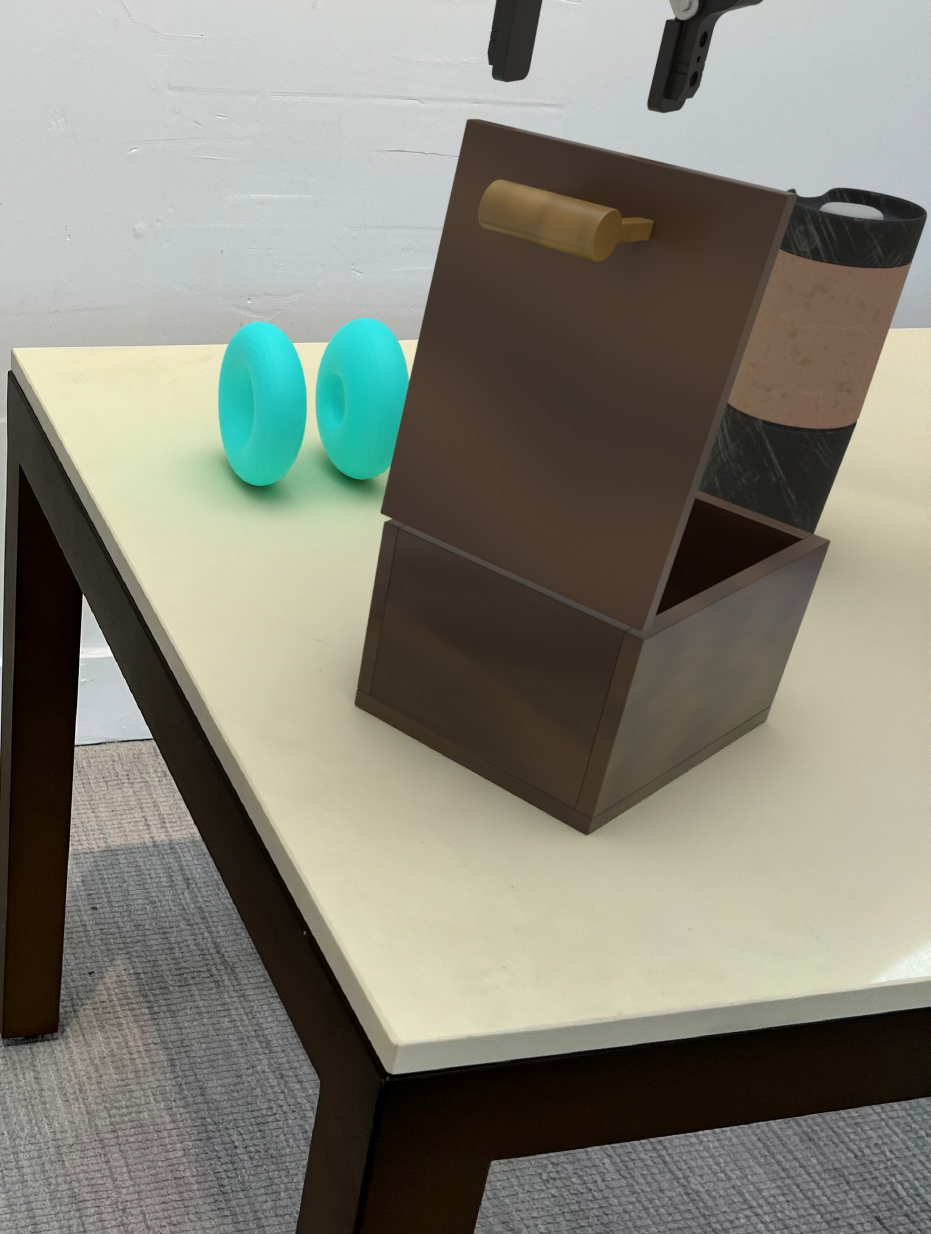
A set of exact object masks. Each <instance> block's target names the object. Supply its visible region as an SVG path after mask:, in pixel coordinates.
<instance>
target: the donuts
mask: <svg viewBox="0 0 931 1234" xmlns="http://www.w3.org/2000/svg"><path fill="white" fill-rule="evenodd" d="M402 348H403V347H402V346H401V344H400V341H399V340H398V338H397V336H396V335H395V333H394V332H393V331H392V330H391V329H390V328H389V326H388V325H386V324H385V323H384V322H382V321H380V320H378V319H375V318H371V317H359V318H355V319H352V320H350V321H349V322H346V323H345V324H343V325H342V326H341V327H340V328H339V329H338V330H337V331H336V332H335V333H334V334H333V336H332V337H331V338H330V340H329V342H328V343H327V345H326V347H325V350H324V351H323V354H322V357H321V359H320V363H319V367H318V371H317V375H316V376H317V377H316V382H315V395H314V396H315V397H314V398H315V399H314V402H315V403H314V404H315V418H316V425H317V431H318V433H319V434H318V435H319V437H320V440H321V443H322V446H323V449H324V451H325V453H326V455H327V457H328V459H329V460H330V462H331V463H332V464H333V466H334V467H335V468H336V469H338V471H340V473H342V474H343V475H345V476H347V477H350V478H352V479H354V480H355V479H356V480H370V479H374V478H376V477H379V476H381V475H382V474H384V473H385V472H386V471H387V470H388V469H390V466H391V462H392V457H393V453H394V448H395V444H396V439H397V434H398V430H399V425H400V421H401V416H402V412H403V407H404V403H405V398H406V394H407V389H408V385H409V380H410V376H409V370H408V366H407V365H408V364H407V361H406V358H405V354H404V351H403V349H402ZM218 377H219V378H218V390H217V391H218V392H217V398H218V399H217V411H218V423H219V424H218V425H219V430H220V437H221V442H222V445H223V449H224V453H225V455H226V459H227V461H228V463H229V465H230V467H231V469H232V470H233V472H234V473H235V474H236V475H237V476H238V478H240V479H241V480H242V481H243V482H245V483H247V484H249V485H251V486H256V487H265V486H268V485H273V484H274V483H276V482H278V481H279V480H281V479H282V478H284V476H285V475H286V474H288V472H289V471H290V470H291V468H292V467H293V465H294V463H295V462H296V459H297V458H298V455H299V453H300V451H301V448H302V444H303V441H304V438H305V432H306V431H305V430H306V425H307V415H308V414H307V413H308V395H307V386H306V385H307V384H306V377H305V372H304V368H303V365H302V360H301V359H300V356H299V354H298V351H297V348H296V347H295V345H294V343H293V342H292V340H291V339H290V337H289V336H288V335H287V334H286V333H285V332H284V331H283V330H282V329H280V327H278V326H277V325H274V324H272V323H271V322H266V321H252V322H250V323H249V322H248V323H247V324H245V325H244V326H242V327H240V328H239V329H238V330H237V331H236V332H235V333H234V334H233V336H232V337H231V339H229V342H228V344H227V346H226V348H225V352H224V354H223V356H222V363H221V366H220V371H219V376H218Z"/></svg>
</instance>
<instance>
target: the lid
mask: <svg viewBox="0 0 931 1234" xmlns="http://www.w3.org/2000/svg"><path fill="white" fill-rule="evenodd" d="M796 193H797V192H796ZM796 193H791V192H787V190H783V189H779V188H778V189H777V188H775V187H774V188H773V187H770V186H766V185H761V184H757V183H753V182H748V181H744V180H739V179H735V178H732V177H727V176H723V175H719V174H714V173H710V172H705V171H703V170H702V171H701V170H697V169H693V168H689V167H685V166H680V165H676V164H671V163H668V162H664V161H659V160H655V159H650V158H646V157H642V156H638V155H634V154H629V153H624V152H620V151H617V150H612V149H608V148H604V147H600V146H595V145H592V144H587V143H583V142H578V141H574V140H570V139H565V138H561V137H557V136H553V135H550V134H549V135H548V134H544V133H539V132H535V131H531V130H528V129H523V128H518V127H515V126H510V125H506V124H501V123H499V122H498V123H497V122H494V121H488V120H484V119H480V118H468V119H467V120H466V122H465V127H464V132H463V136H462V140H461V144H460V149H459V154H458V158H457V164H456V168H455V172H454V177H453V181H452V185H451V190H450V194H449V199H448V204H447V208H446V213H445V217H444V222H443V226H442V231H441V236H440V240H439V244H438V249H437V253H436V258H435V262H434V267H433V271H432V276H431V281H430V285H429V290H428V293H427V299H426V303H425V309H424V312H423V318H422V322H421V325H420V326H421V327H420V331H419V334H418V335H419V336H418V340H417V345H416V348H415V353H414V358H413V363H412V367H411V371H410V376H409V385H408V389H407V394H406V398H405V403H404V407H403V412H402V416H401V421H400V425H399V430H398V434H397V439H396V444H395V448H394V453H393V457H392V462H391V466H390V467H389V472H388V476H387V480H386V484H385V488H384V489H385V490H384V494H383V499H382V503H381V506H380V507H381V508H380V514H381V515H383V516H385V517H387V518H390V519H394V520H396V521H398V522H400V523H403V524H405V525H407V526H409V527H412V528H414V529H416V530H418V531H420V532H423V533H425V534H427V535H429V536H431V537H434V538H436V539H438V540H440V541H442V542H445V543H447V544H449V545H451V546H453V547H456V548H458V549H460V550H462V551H464V552H467V553H469V554H471V555H473V556H475V557H478V558H480V559H482V560H484V561H486V562H489V563H491V564H493V565H495V566H498V567H500V568H502V569H504V570H506V571H509V572H511V573H513V574H515V575H517V576H520V577H522V578H524V579H526V580H528V581H531V582H533V583H535V584H537V585H539V586H542V587H544V588H546V589H548V590H550V591H553V592H555V593H557V594H559V595H561V596H564V597H566V598H568V599H570V600H572V601H575V602H577V603H579V604H581V605H583V606H586V607H588V608H590V609H592V610H595V611H597V612H599V613H601V614H603V615H606V616H608V617H610V618H612V619H614V620H617V621H619V622H621V623H623V624H625V625H628V626H630V627H632V628H634V629H636V630H639V631H645V630H647V629H650V628H651V627H652V624H653V621H654V618H655V615H656V612H657V609H658V606H659V603H660V600H661V597H662V595H663V592H664V589H665V586H666V583H667V580H668V577H669V574H670V571H671V568H672V565H673V562H674V559H675V556H676V553H677V550H678V547H679V544H680V541H681V538H682V535H683V532H684V530H685V527H686V524H687V521H688V518H689V515H690V512H691V509H692V506H693V503H694V500H695V497H696V494H697V491H698V488H699V485H700V482H701V479H702V476H703V473H704V470H705V467H706V465H707V462H708V459H709V456H710V453H711V450H712V447H713V444H714V441H715V438H716V435H717V432H718V429H719V426H720V423H721V420H722V417H723V414H724V411H725V408H726V405H727V402H728V399H729V397H730V394H731V391H732V388H733V385H734V382H735V379H736V376H737V373H738V370H739V367H740V364H741V361H742V358H743V355H744V352H745V349H746V346H747V343H748V340H749V337H750V334H751V332H752V329H753V326H754V323H755V320H756V317H757V314H758V311H759V308H760V305H761V302H762V299H763V296H764V293H765V290H766V287H767V284H768V281H769V278H770V275H771V272H772V269H773V266H774V264H775V261H776V258H777V255H778V252H779V249H780V246H781V243H782V240H783V237H784V234H785V231H786V228H787V225H788V222H789V219H790V216H791V213H792V210H793V207H794V204H795V201H796V199H797V194H798V193H797V194H796Z"/></svg>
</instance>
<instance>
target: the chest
mask: <svg viewBox="0 0 931 1234" xmlns="http://www.w3.org/2000/svg"><path fill="white" fill-rule="evenodd" d="M830 544H831V540H830V539H828V538H826V537H822V536H820V535H817V534H815V533H814V534H811V533H809V532H806V531H803V530H801V529H798V528H796V527H793V526H790V525H788V524H785V523H782V522H780V521H777V520H774V519H772V518H769V517H767V516H764V515H761V514H759V513H756V512H753V511H751V510H748V509H745V508H743V507H740V506H737V505H735V504H732V503H730V502H727V501H724V500H722V499H719V498H716V497H714V496H711V495H708V494H706V493H703V492H700V491H697V494H696V497H695V500H694V503H693V506H692V509H691V512H690V515H689V518H688V521H687V524H686V527H685V530H684V532H683V535H682V538H681V541H680V544H679V547H678V550H677V553H676V556H675V559H674V562H673V565H672V568H671V571H670V574H669V577H668V580H667V583H666V586H665V589H664V592H663V595H662V597H661V600H660V603H659V606H658V609H657V612H656V615H655V618H654V621H653V624H652V627H651V628H650V629H647V630H645V631H639V630H636V629H634V628H632V627H630V626H628V625H625V624H623V623H621V622H619V621H617V620H614V619H612V618H610V617H608V616H606V615H603V614H601V613H599V612H597V611H595V610H592V609H590V608H588V607H586V606H583V605H581V604H579V603H577V602H575V601H572V600H570V599H568V598H566V597H564V596H561V595H559V594H557V593H555V592H553V591H550V590H548V589H546V588H544V587H542V586H539V585H537V584H535V583H533V582H531V581H528V580H526V579H524V578H522V577H520V576H517V575H515V574H513V573H511V572H509V571H506V570H504V569H502V568H500V567H498V566H495V565H493V564H491V563H489V562H486V561H484V560H482V559H480V558H478V557H475V556H473V555H471V554H469V553H467V552H464V551H462V550H460V549H458V548H456V547H453V546H451V545H449V544H447V543H445V542H442V541H440V540H438V539H436V538H434V537H431V536H429V535H427V534H425V533H423V532H420V531H418V530H416V529H414V528H412V527H409V526H407V525H405V524H403V523H400V522H398V521H396V520H394V519H392V518H390V519H388V520H384V522H383V526H382V532H381V538H380V544H379V551H378V557H377V563H376V569H375V575H374V580H373V581H374V582H373V586H372V593H371V599H370V605H369V611H368V619H367V623H366V624H367V625H366V630H365V636H364V642H363V647H362V654H361V659H360V660H361V661H360V667H359V673H358V679H357V686H356V691H355V698H354V705H355V706H357V707H359V708H361V709H363V710H364V711H366V712H368V713H369V714H371V715H373V716H374V717H376V718H378V719H380V720H381V721H383V722H386V723H387V724H389V725H391V726H392V727H395V728H396V729H398V730H400V731H401V732H404V733H405V734H407V735H409V736H411V737H412V738H414V739H416V740H418V741H420V742H421V743H423V744H425V745H426V746H428V747H430V748H432V749H434V750H435V751H437V752H439V753H440V754H443V755H445V756H446V757H448V758H449V759H452V760H453V761H455V762H457V763H458V764H460V765H462V766H464V767H466V768H467V769H469V770H471V771H472V772H475V773H476V774H478V775H480V776H482V777H483V778H485V779H487V780H489V781H490V782H492V783H495V784H496V785H497V786H499V787H502V788H503V789H505V790H507V791H509V792H510V793H512V794H514V795H516V796H517V797H519V798H521V799H523V800H524V801H526V802H529V804H532V805H533V806H535V807H536V808H539V809H541V810H542V811H544V812H546V813H548V814H549V815H551V816H553V817H555V818H557V819H558V820H560V821H562V822H564V823H566V824H567V825H569V826H571V827H572V828H575V830H578V831H579V832H582V833H583V834H585V835H590V834H591V833H592V832H594V831H596V830H597V829H598V828H600V827H602V826H603V825H605V824H606V823H608V822H610V821H612V819H614V818H616V817H618V816H619V815H620V814H622V813H624V812H625V811H627V810H628V809H629V808H631V807H633V806H635V804H638V803H639V802H641V801H642V800H644V799H645V798H647V797H648V796H650V795H652V794H653V793H655V792H656V791H657V790H660V789H661V788H663V787H664V786H666V785H667V784H669V783H670V782H672V781H674V780H675V779H677V778H678V777H679V776H681V775H683V774H684V773H686V772H687V771H689V770H690V769H692V768H694V767H695V766H697V765H698V764H700V763H702V762H703V761H704V760H706V759H708V758H709V757H710V756H712V755H714V754H716V753H717V752H719V751H720V750H722V749H724V747H726V746H728V745H730V744H732V743H733V742H735V741H736V740H738V739H739V738H740V737H742V736H744V735H745V734H747V733H748V732H750V731H751V730H753V729H754V728H756V727H757V726H759V725H761V724H762V723H763V722H765V721H767V720H768V717H769V714H770V711H771V709H772V705H773V704H774V701H775V698H776V695H777V692H778V689H779V687H780V684H781V681H782V678H783V676H784V673H785V670H786V667H787V664H788V661H789V659H790V656H791V653H792V652H793V651H792V650H793V647H794V645H795V642H796V639H797V636H798V633H799V631H800V628H801V625H802V623H803V621H804V620H803V619H804V617H805V615H806V611H807V609H808V605H809V603H810V600H811V598H812V594H813V591H814V590H815V586H816V583H817V580H818V578H819V575H820V572H821V570H822V567H823V563H824V561H825V558H826V555H827V553H828V550H829V547H830Z"/></svg>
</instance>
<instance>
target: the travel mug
mask: <svg viewBox="0 0 931 1234" xmlns="http://www.w3.org/2000/svg"><path fill="white" fill-rule="evenodd" d="M786 191H787V192H791V193H796V194H797V199H796V201H795V204H794V207H793V210H792V213H791V216H790V219H789V222H788V225H787V228H786V231H785V234H784V237H783V240H782V243H781V246H780V249H779V252H778V255H777V258H776V261H775V264H774V266H773V269H772V272H771V275H770V278H769V281H768V284H767V287H766V290H765V293H764V296H763V299H762V302H761V305H760V308H759V311H758V314H757V317H756V320H755V323H754V326H753V329H752V332H751V334H750V337H749V340H748V343H747V346H746V349H745V352H744V355H743V358H742V361H741V364H740V367H739V370H738V373H737V376H736V379H735V382H734V385H733V388H732V391H731V394H730V397H729V399H728V402H727V405H726V408H725V411H724V414H723V417H722V420H721V423H720V426H719V429H718V432H717V435H716V438H715V441H714V444H713V447H712V450H711V453H710V456H709V459H708V462H707V465H706V467H705V470H704V473H703V476H702V479H701V482H700V485H699V488H698V491H700V492H703V493H706V494H708V495H711V496H714V497H716V498H719V499H722V500H724V501H727V502H730V503H732V504H735V505H737V506H740V507H743V508H745V509H748V510H751V511H753V512H756V513H759V514H761V515H764V516H767V517H769V518H772V519H774V520H777V521H780V522H782V523H785V524H788V525H790V526H793V527H796V528H798V529H801V530H803V531H806V532H809V533H811V534H815V532H816V529H817V527H818V524H819V522H820V519H821V517H822V513H823V512H824V508H825V507H826V503H827V501H828V499H829V496H830V494H831V491H832V488H833V486H834V484H835V481H836V478H837V475H838V473H839V470H840V467H841V466H842V462H843V460H844V457H845V455H846V452H847V450H848V447H849V445H850V442H851V440H852V437H853V434H854V431H855V429H856V427H857V424H858V420H859V419H860V416H861V413H862V410H863V407H864V404H865V401H866V399H867V397H868V392H869V390H870V386H871V384H872V381H873V378H874V375H875V372H876V369H877V366H878V364H879V360H880V357H881V354H882V352H883V349H884V345H885V343H886V340H887V337H888V335H889V331H890V329H891V325H892V322H893V319H894V316H895V314H896V310H897V308H898V304H899V303H900V298H901V296H902V292H903V290H904V286H905V284H906V281H907V278H908V275H909V272H910V270H911V267H912V264H913V260H914V257H915V254H916V251H917V250H918V246H919V243H920V240H921V238H922V235H923V231H924V228H925V225H926V222H927V218H928V211H927V210H926V209H925V208H924V207H923V206H921V205H920V204H918V203H916V202H914V201H910V200H907V199H905V198H902V197H898V196H896V195H891V194H886V193H882V192H878V191H874V190H873V191H872V190H867V189H860V188H852V187H833V188H830V189H829V190H826V192H824V193H822V194H821V195H817V196H801V195H799V194H798V192H797V189H796V188H789V189H787V190H786Z"/></svg>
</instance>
